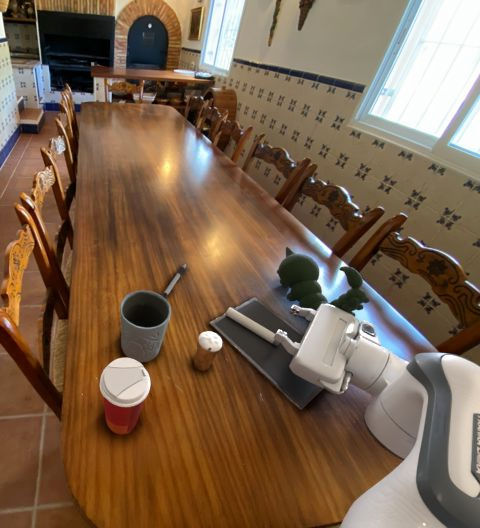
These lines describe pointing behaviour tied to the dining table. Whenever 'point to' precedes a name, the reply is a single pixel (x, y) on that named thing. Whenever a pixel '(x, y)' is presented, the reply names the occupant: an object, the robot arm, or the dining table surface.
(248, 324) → the white cylindrical rod
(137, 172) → the dining table surface
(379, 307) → the dining table surface
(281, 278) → the toy figurine
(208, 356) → the milkshake
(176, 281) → the pen
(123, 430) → the paper cup
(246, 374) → the dining table surface
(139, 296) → the grey embossed cup
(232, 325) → the tablet
